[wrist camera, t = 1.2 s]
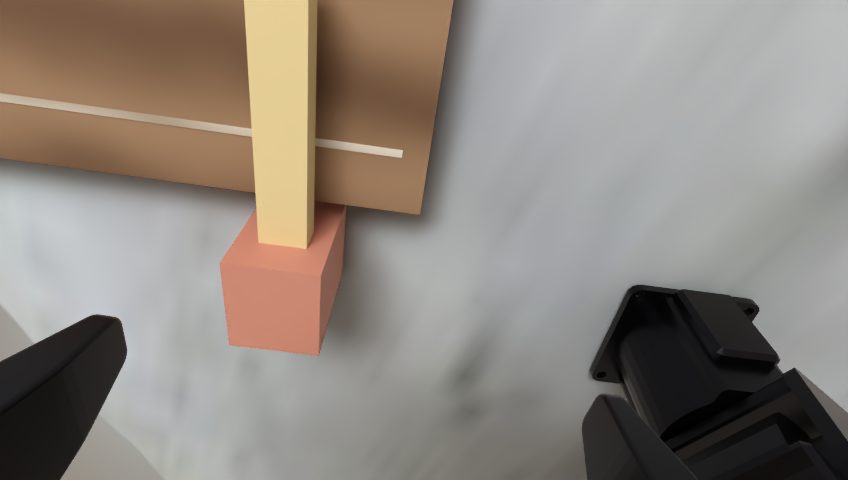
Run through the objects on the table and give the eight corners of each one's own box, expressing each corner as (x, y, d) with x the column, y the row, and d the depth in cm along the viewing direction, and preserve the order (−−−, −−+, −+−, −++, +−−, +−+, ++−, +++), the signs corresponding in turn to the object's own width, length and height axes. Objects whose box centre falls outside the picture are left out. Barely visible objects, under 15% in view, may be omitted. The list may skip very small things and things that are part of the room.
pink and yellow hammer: (342, 272, 23) (318, 355, 19) (271, 263, 23) (229, 345, 19) (360, -26, 16) (328, -11, 12) (257, -43, 16) (185, -34, 12)
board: (421, 192, 21) (420, 215, 19) (-54, 127, 20) (-100, 145, 18) (463, -80, 15) (466, -81, 14) (-187, -190, 14) (-273, -207, 13)
